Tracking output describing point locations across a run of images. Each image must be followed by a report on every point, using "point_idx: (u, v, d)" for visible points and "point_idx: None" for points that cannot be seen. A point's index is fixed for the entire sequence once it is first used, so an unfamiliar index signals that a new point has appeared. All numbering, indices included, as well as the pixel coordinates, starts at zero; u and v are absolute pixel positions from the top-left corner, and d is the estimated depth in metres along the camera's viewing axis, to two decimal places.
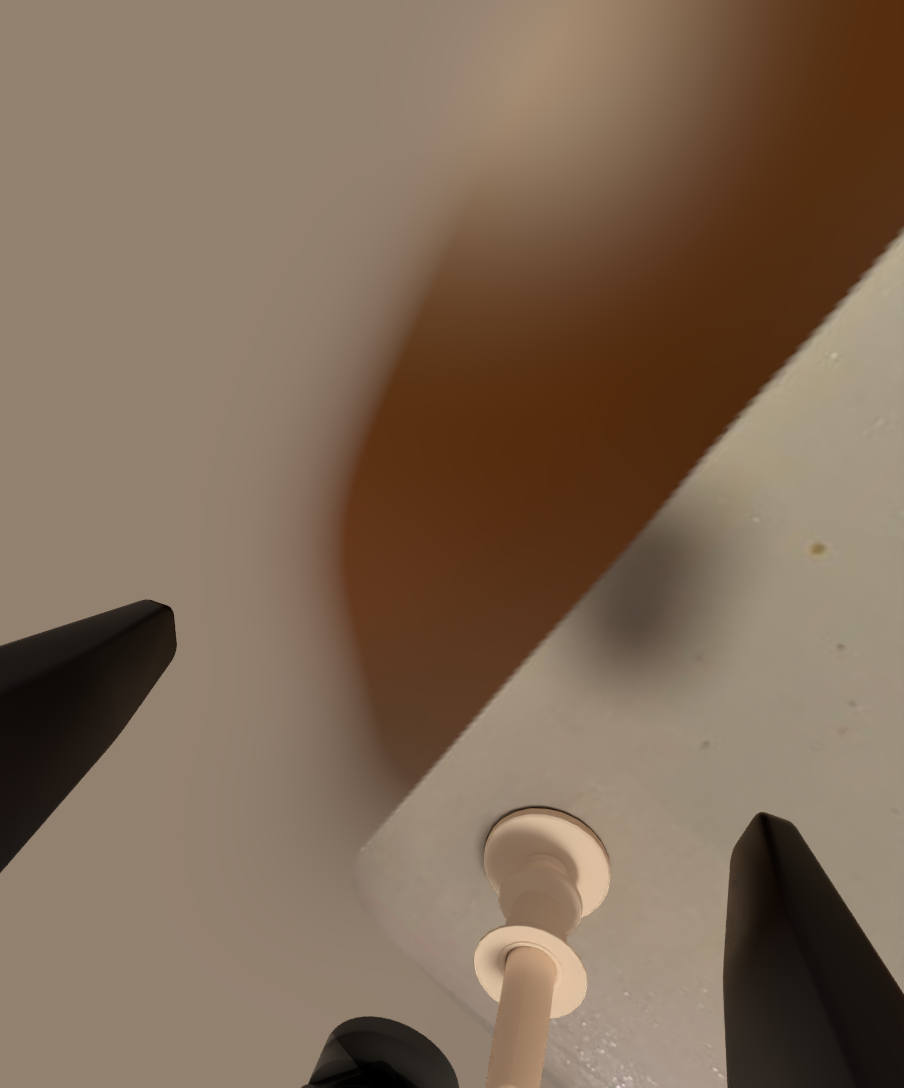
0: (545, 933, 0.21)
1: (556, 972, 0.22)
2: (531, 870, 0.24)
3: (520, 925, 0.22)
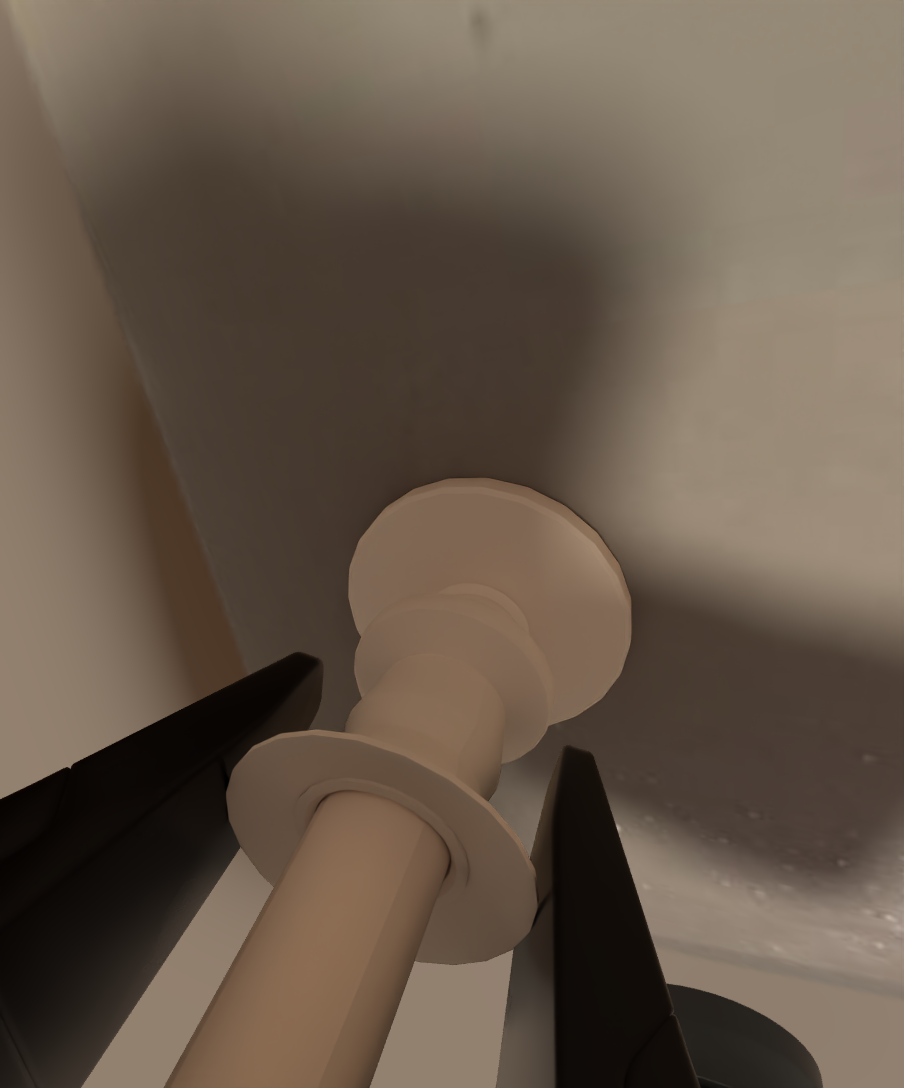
0: (283, 743, 0.07)
1: (426, 822, 0.07)
2: (367, 631, 0.10)
3: (240, 760, 0.07)
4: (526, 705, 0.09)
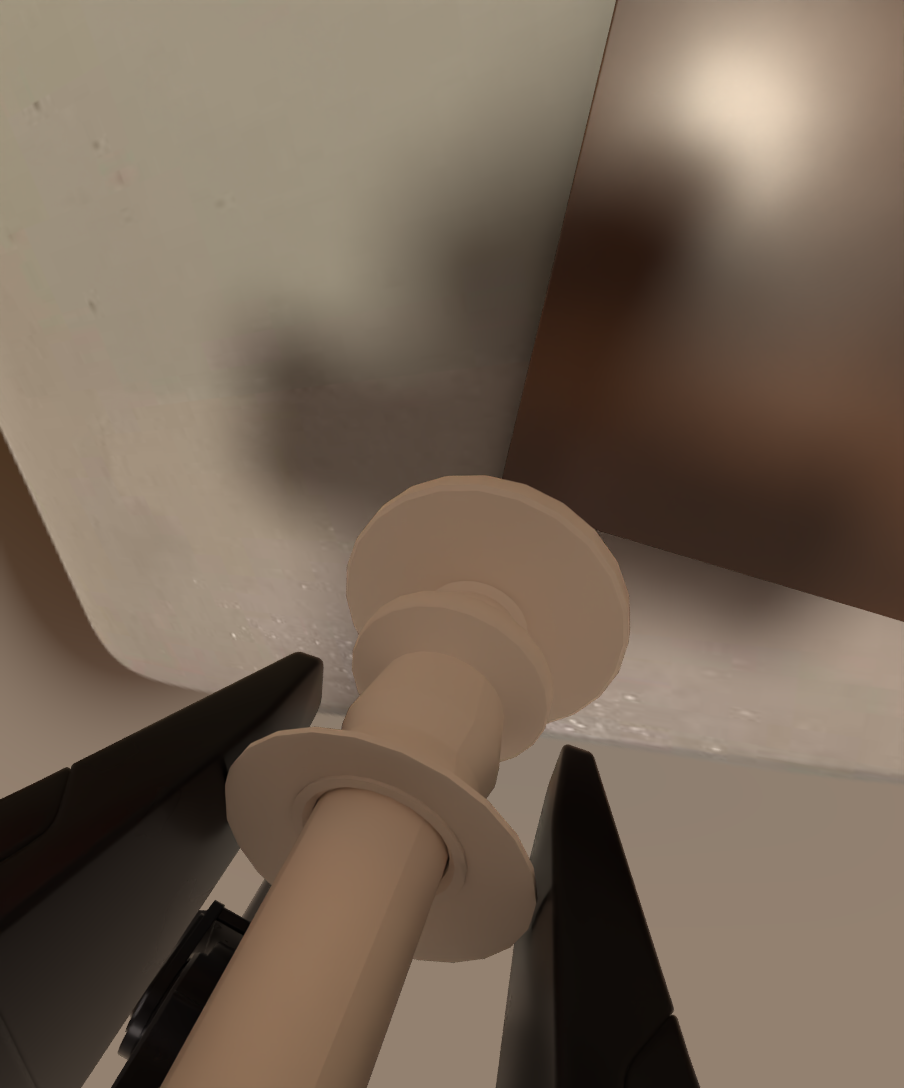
0: (281, 740, 0.07)
1: (424, 819, 0.07)
2: (365, 629, 0.10)
3: (237, 758, 0.07)
4: (524, 702, 0.09)
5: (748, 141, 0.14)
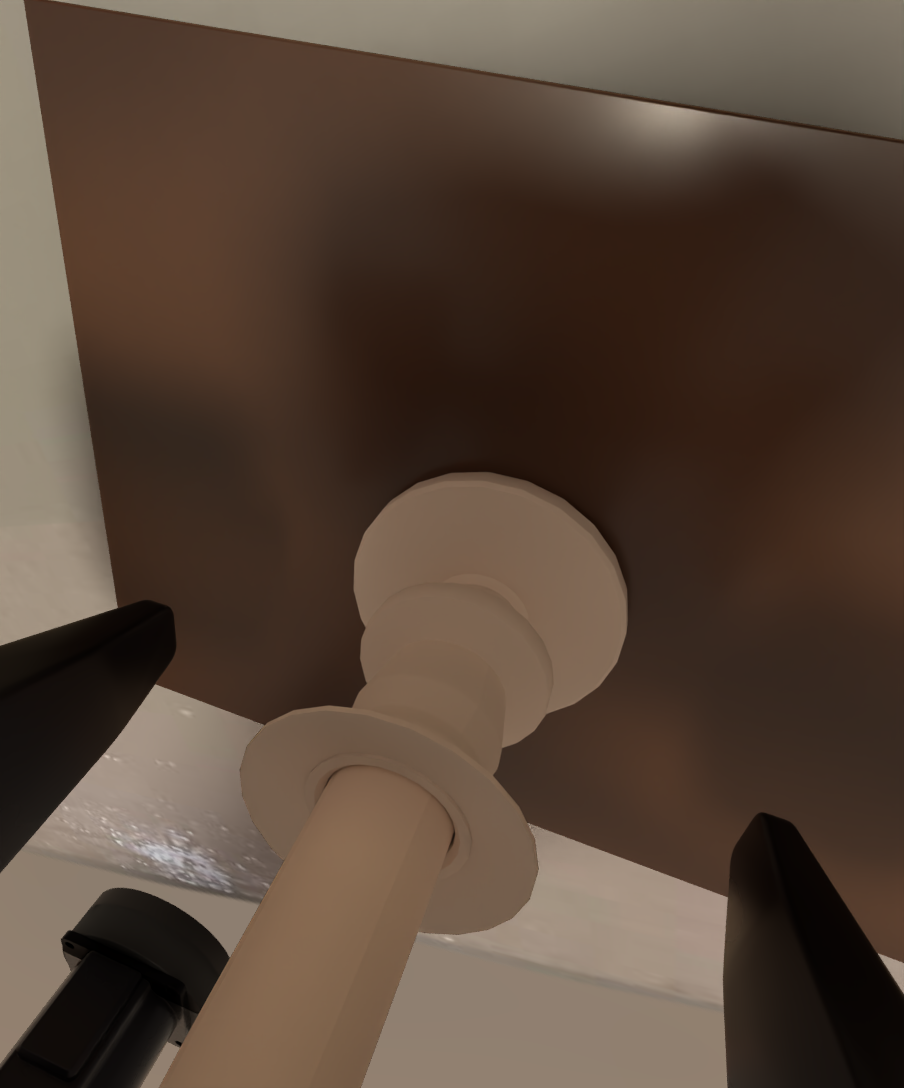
0: (296, 718, 0.07)
1: (431, 794, 0.08)
2: (373, 619, 0.10)
3: (254, 737, 0.08)
4: (526, 689, 0.10)
5: (243, 289, 0.11)
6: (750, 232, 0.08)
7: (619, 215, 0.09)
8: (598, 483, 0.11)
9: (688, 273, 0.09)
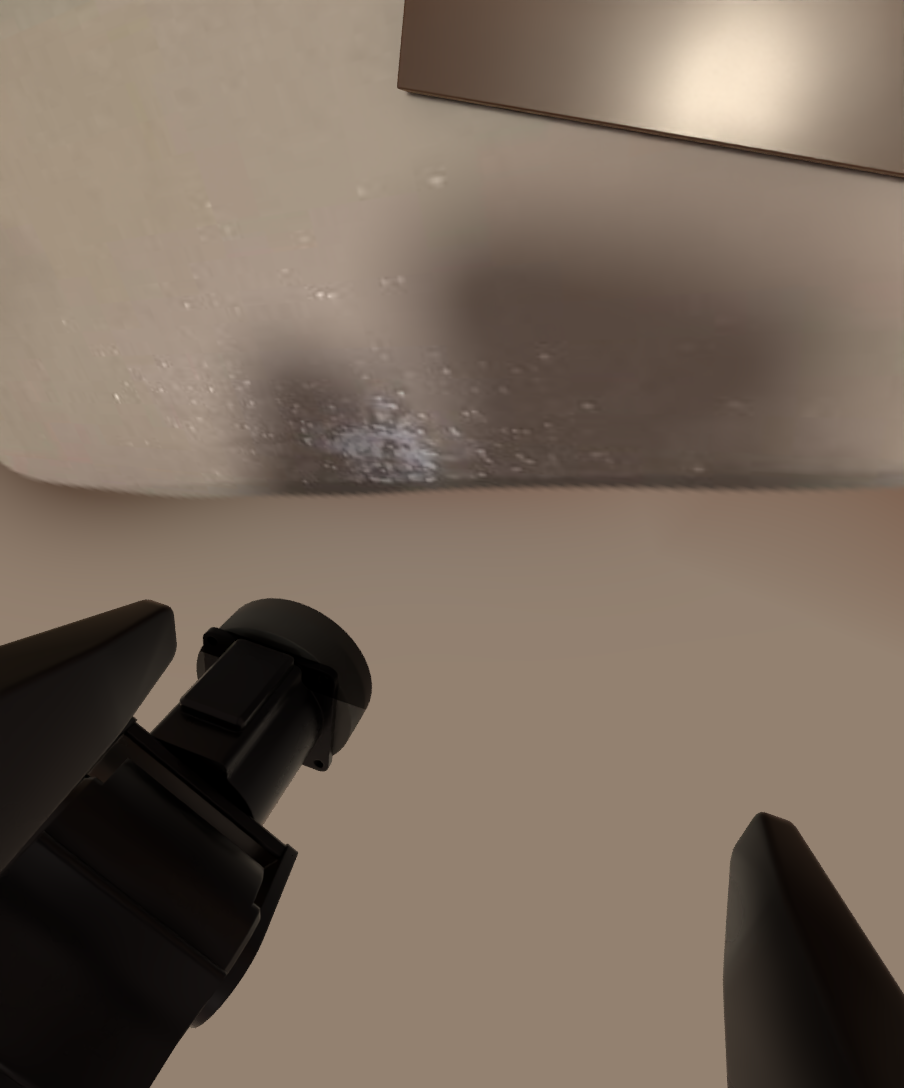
0: None
1: None
2: None
3: None
4: None
5: None
6: None
7: None
8: None
9: None
